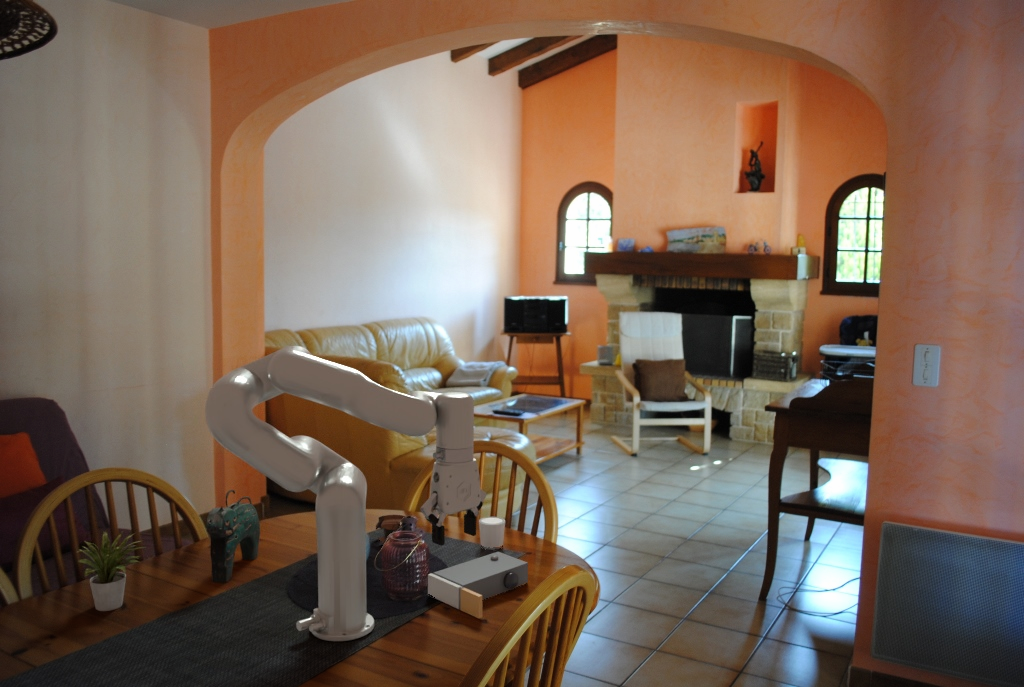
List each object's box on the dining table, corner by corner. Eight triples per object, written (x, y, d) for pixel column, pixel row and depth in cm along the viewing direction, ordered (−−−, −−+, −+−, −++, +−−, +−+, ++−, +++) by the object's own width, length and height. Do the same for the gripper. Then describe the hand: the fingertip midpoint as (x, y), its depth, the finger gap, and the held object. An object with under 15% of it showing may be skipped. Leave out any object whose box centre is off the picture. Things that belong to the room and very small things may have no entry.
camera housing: (465, 609, 182) (465, 584, 181) (432, 594, 190) (432, 570, 189) (531, 585, 196) (531, 561, 195) (498, 571, 204) (498, 549, 203)
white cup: (504, 551, 218) (504, 524, 217) (477, 550, 218) (477, 524, 217) (505, 542, 224) (505, 516, 224) (479, 541, 225) (479, 515, 224)
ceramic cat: (226, 586, 193) (224, 500, 191) (200, 584, 194) (197, 498, 192) (265, 555, 213) (263, 477, 211) (241, 554, 214) (239, 476, 212)
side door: (478, 618, 177) (478, 596, 176) (427, 595, 189) (427, 574, 188) (482, 617, 178) (482, 595, 177) (431, 593, 189) (431, 573, 189)
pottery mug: (367, 547, 221) (368, 516, 224) (387, 553, 229) (387, 522, 232) (408, 541, 217) (408, 509, 220) (426, 547, 225) (426, 516, 228)
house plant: (114, 626, 172) (111, 547, 171) (54, 619, 175) (50, 542, 173) (157, 598, 186) (154, 525, 184) (101, 592, 189) (98, 521, 187)
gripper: (432, 464, 163) (432, 553, 165) (499, 450, 175) (498, 534, 177) (408, 457, 168) (408, 544, 170) (474, 444, 180) (473, 525, 182)
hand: (454, 538), depth 173 cm, fingers open, 7 cm apart
